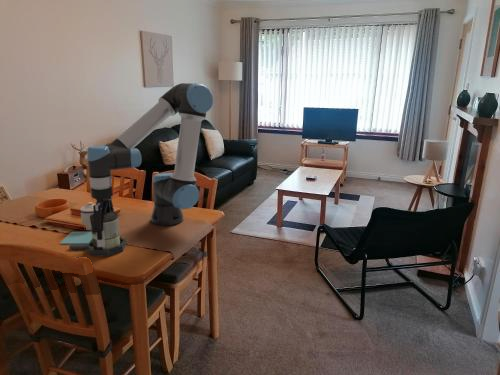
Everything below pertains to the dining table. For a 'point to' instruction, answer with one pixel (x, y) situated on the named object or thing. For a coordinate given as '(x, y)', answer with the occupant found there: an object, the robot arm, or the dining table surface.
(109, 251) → the ring
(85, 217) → the teacup with lid
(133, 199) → the dining table surface
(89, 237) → the teal pad
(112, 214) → the coffee can
